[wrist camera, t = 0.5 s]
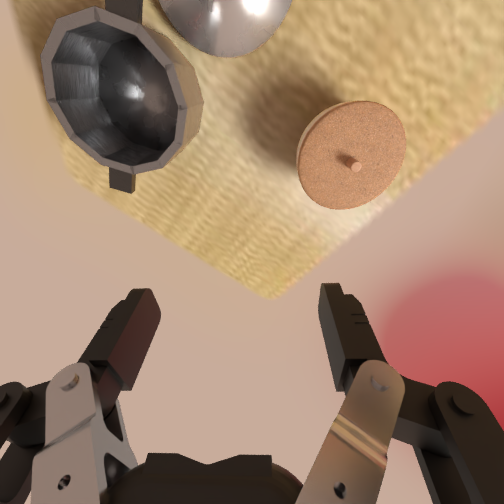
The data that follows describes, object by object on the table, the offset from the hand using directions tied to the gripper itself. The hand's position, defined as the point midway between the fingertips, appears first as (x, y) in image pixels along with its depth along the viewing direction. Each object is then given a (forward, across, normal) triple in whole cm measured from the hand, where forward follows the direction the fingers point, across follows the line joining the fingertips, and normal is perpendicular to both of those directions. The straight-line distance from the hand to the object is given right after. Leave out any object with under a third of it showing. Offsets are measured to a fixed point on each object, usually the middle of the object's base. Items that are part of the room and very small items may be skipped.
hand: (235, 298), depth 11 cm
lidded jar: (+26, -10, 0) cm, 28 cm away
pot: (+25, +12, -7) cm, 29 cm away
